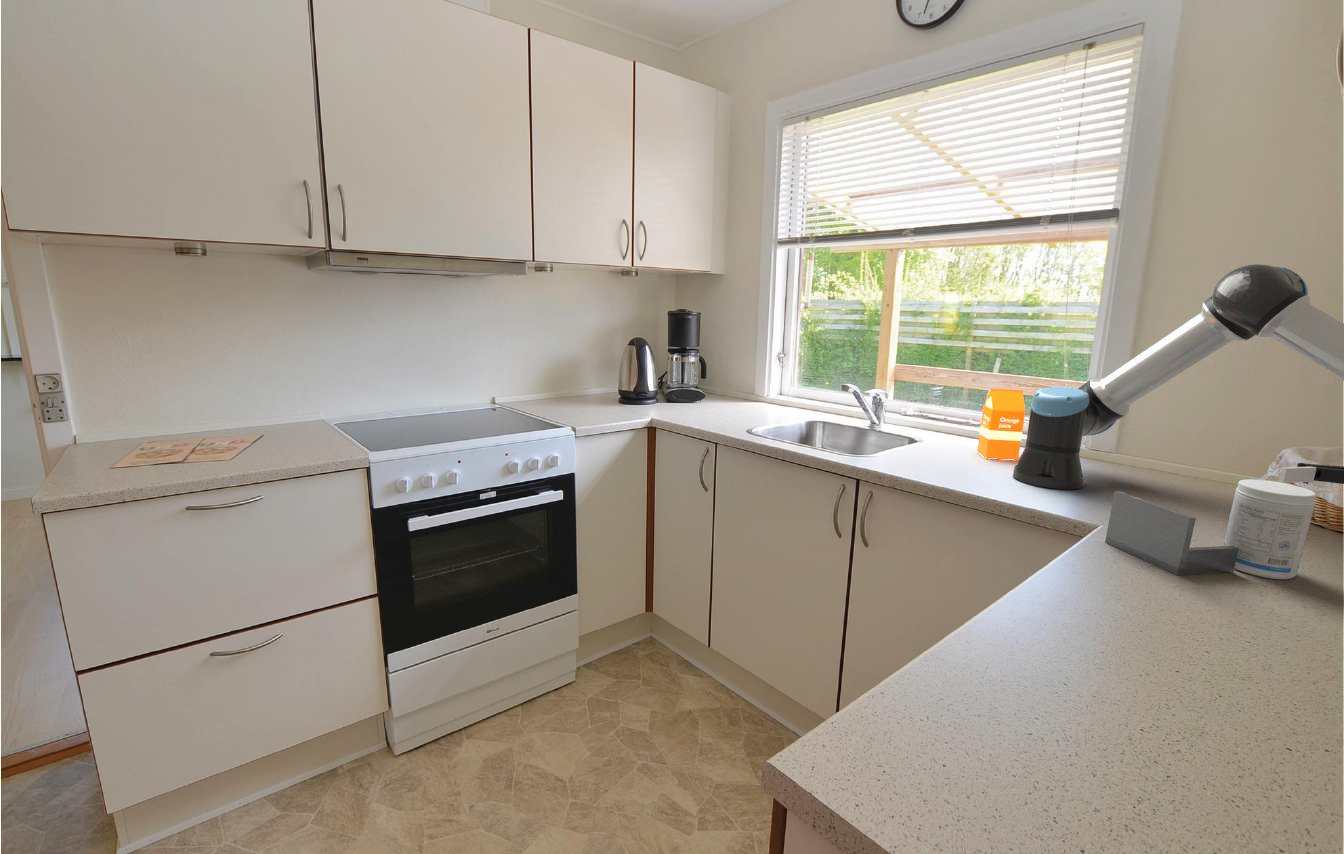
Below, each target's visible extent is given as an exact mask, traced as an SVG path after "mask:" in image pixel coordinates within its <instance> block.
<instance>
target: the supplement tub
mask: <svg viewBox="0 0 1344 854" xmlns="http://www.w3.org/2000/svg"><path fill="white" fill-rule="evenodd" d="M1316 496H1317V494H1316V492H1314V491H1312V490H1310V489H1308V488H1305V487H1301V486H1298V485H1294V484H1291V483H1281V482H1279V481H1273V480H1272V481H1271V480H1264V479H1250V478H1249V479H1248V478H1247V479H1241V480H1239V481H1238V482H1237V487H1236V488H1235V493H1234V496H1233V501H1232V505H1231V510H1230V513H1229V518H1228V521H1227V522H1228V523H1227V528H1226V531H1225V536H1224V540H1223V544H1222V545H1223V546H1234V547H1237V548H1239V550H1238V555H1237V559H1236V563H1235V567H1234V570H1237V571H1240V572H1243V573H1245V574H1249V575H1253V576H1256V577H1261V578H1267V579H1273V580H1289V579H1293V578H1295V577H1296V576H1297V574H1298V570H1299V567H1300V564H1301V559H1302V556H1303V553H1304V550H1305V549H1304V548H1305V544H1306V541H1307V536H1308V533H1309V529H1310V526H1311V522H1312V521H1311V520H1312V517H1313V514H1314V510H1315V505H1316V498H1317V497H1316Z"/></svg>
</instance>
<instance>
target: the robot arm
mask: <svg viewBox="0 0 1344 854" xmlns="http://www.w3.org/2000/svg"><path fill="white" fill-rule="evenodd" d="M1255 336H1257V337H1259V338H1273V339H1274V340H1275V341H1277V342H1279V343H1281V344H1282V345H1284V346H1285V347H1287V348H1289V349H1290V350H1292V351H1294V353H1297V354H1298V355H1300V356H1302V357H1303V358H1305V359H1306V360H1308V361H1310V362H1311V363H1313V364H1315V365H1317V366H1318V367H1320V368H1322V369H1323V370H1324V371H1327V372H1328V373H1329V374H1331V375H1333V376H1335V377H1336V378H1338V379H1339V380H1341V381H1343V382H1344V322H1343V321H1340V320H1339V319H1337V318H1335V317H1334V316H1331V315H1330V314H1328V313H1326V312H1325V311H1323V310H1321V309H1319V308H1317V307H1316V306H1314V305H1312V303H1311V296H1310V295H1309V290H1308V286H1307V283H1306V281H1305V280H1304V279H1303V277H1301V276H1300V275H1299V274H1298V273H1296V272H1295V271H1293V270H1292V269H1289V268H1286V267H1281V266H1272V265H1267V264H1248V265H1244V266H1240V267H1237V268H1235V269H1234V270H1233V269H1232V271H1230V272H1228V273H1227V274H1225V275H1224V276H1223V277H1222V278H1221V279H1220V280H1218V282H1217V283H1216V285H1215V287H1214V289H1213V293H1212V295H1211V296H1210V297H1209V298H1207V299H1206V300H1204V301H1203V302H1202V307H1201V311H1200V312H1199V313H1198V314H1196V315H1195V316H1193V317H1192V318H1190V319H1189V320H1188V321H1186V322H1185V323H1183V324H1182V325H1180V326H1179V327H1177V328H1176V329H1174V330H1173V331H1171V332H1170V333H1169V334H1167V335H1165V336H1164V337H1163V338H1161V339H1160V340H1158V341H1157V342H1155V343H1153V345H1151V346H1149V347H1148V348H1145V350H1143V351H1142V352H1140V353H1139V354H1138V355H1136V356H1135V357H1133V358H1132V359H1130V360H1129V361H1127V362H1126V363H1124V364H1123V365H1121V366H1120V367H1118V368H1116V370H1114V371H1112V372H1110V374H1107V375H1106V376H1105V377H1103V378H1100V377H1092V378H1091V379H1090V380H1088V381H1086V382H1085V383H1084V384H1082V385H1081V386H1079V387H1078V388H1074V387H1065V386H1062V387H1061V386H1057V387H1045V388H1040V389H1038V390H1036V391H1035V392H1034V394H1033V397H1032V401H1031V402H1030V412H1029V418H1028V427H1027V433H1026V441H1025V444H1024V445H1025V446H1024V448H1023V452H1022V453H1021V455H1020V457H1019V458H1018V461H1017V464H1015V465H1014V467H1013V473H1012V477H1013V476H1014V477H1015V478H1017V479H1018V481H1019V480H1021V481H1020V482H1022V483H1025V482H1026V483H1025V484H1028V483H1030V484H1029V485H1032V484H1033V485H1032V486H1036V485H1037V486H1036V487H1042V488H1046V487H1047V488H1048V489H1054V490H1055V489H1056V490H1078V489H1081V488H1083V486H1084V480H1085V478H1084V475H1083V471H1082V464H1081V458H1080V452H1081V447H1082V440H1083V437H1087V436H1095V435H1099V434H1102V433H1104V432H1106V431H1108V430H1109V429H1110V428H1112V427H1113V426H1114V424H1116V422H1118V420H1120V419H1121V418H1123V417H1125V416H1126V415H1128V414H1129V413H1130V405H1131V404H1133V403H1135V402H1137V401H1138V400H1140V399H1141V398H1143V397H1145V396H1146V395H1148V394H1150V393H1151V392H1152V391H1154V390H1156V389H1157V388H1159V387H1160V386H1162V385H1164V384H1165V383H1167V382H1168V381H1169V382H1170V380H1172V379H1174V378H1175V377H1177V376H1178V375H1180V374H1182V373H1183V372H1184V371H1186V370H1188V369H1189V368H1191V367H1193V366H1194V365H1196V364H1197V363H1199V362H1200V361H1202V360H1204V359H1205V358H1207V357H1208V356H1210V355H1212V354H1213V353H1216V352H1217V351H1218V350H1219V349H1221V348H1223V347H1224V346H1227V344H1230V343H1231V342H1233V341H1234V342H1235V341H1243V342H1244V341H1246V342H1247V341H1248V340H1250V339H1251V338H1253V337H1255ZM1296 465H1297V466H1288V467H1287V466H1285V467H1281V469H1280V474H1279V478H1278V482H1280V483H1286V484H1294V483H1295V484H1297V483H1303V484H1307V485H1309V483H1314V481H1315V482H1316V481H1317V482H1323V483H1334V484H1340V485H1341V484H1342V485H1344V465H1330V464H1329V465H1327V464H1318V463H1317V464H1316V463H1304V462H1297V464H1296ZM1014 477H1013V478H1014ZM1015 478H1014V479H1015ZM1017 479H1016V480H1017Z"/></svg>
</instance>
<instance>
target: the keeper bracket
mask: <svg viewBox="0 0 1344 854" xmlns="http://www.w3.org/2000/svg"><path fill="white" fill-rule="evenodd" d="M1196 520H1197V517H1194V516H1192V515H1189V514H1186V513H1183V512H1180V511H1178V510H1174V509H1172V508H1169V507H1166V506H1163V505H1160V504H1158V503H1155V502H1152V501H1149V500H1146V499H1143V498H1141V497H1137V496H1135V495H1132V494H1130V493H1127V492H1124V491H1120V490H1119V491H1115V490H1114V493H1113V498H1112V504H1111V507H1110V514H1109V519H1108V523H1107V524H1108V526H1107V530H1106V536H1105V540H1104V542H1105V543H1106V544H1107V545H1110V546H1112V547H1115V548H1117V549H1119V550H1121V551H1124V552H1125V553H1127V554H1130V555H1132V556H1134V557H1136V558H1138V559H1141V560H1142V561H1145V562H1147V563H1149V564H1151V565H1153V566H1155V567H1158V568H1161V569H1162V570H1165V571H1166V572H1169V573H1171V574H1173V575H1175V576H1191V575H1192V576H1193V575H1194V576H1195V575H1211V574H1213V575H1214V574H1233V573H1234V571H1235V569H1234V567H1235V563H1236V559H1237V555H1238V550H1239V548H1237V547H1234V546H1222V545H1221V546H1220V545H1217V546H1199V547H1198V546H1197V547H1196V546H1193V547H1191V543H1192V537H1193V533H1194V528H1195V523H1196Z"/></svg>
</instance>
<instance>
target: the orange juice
mask: <svg viewBox="0 0 1344 854" xmlns="http://www.w3.org/2000/svg"><path fill="white" fill-rule="evenodd" d="M1025 416H1026V407H1025V401H1024V391H1023V390H1020V389H1017V390H1016V389H1001V388H999V389H997V388H990V390H989V392H988V395H987V397H986V399H985V402H984V404H983V409H982V415H981V423H980V429H979V435H978V436H979V438H978V445H977V451H978V452H979V453H981V454H982V455H983V456H984V457H987V458H997V459H1014V460H1018V461H1019V458H1020V457H1019V456H1020V455H1019V454H1020V449H1021V443H1022V438H1023V429H1024V423H1025Z"/></svg>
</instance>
